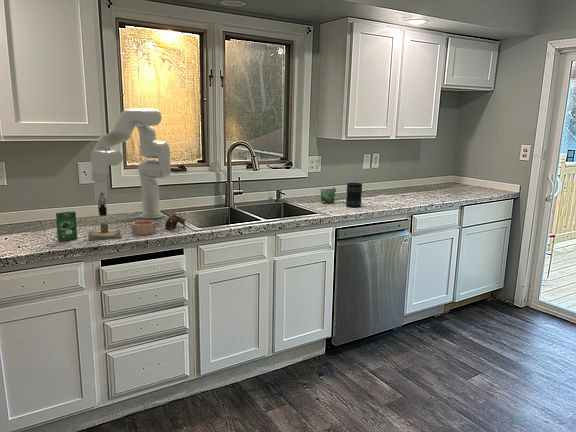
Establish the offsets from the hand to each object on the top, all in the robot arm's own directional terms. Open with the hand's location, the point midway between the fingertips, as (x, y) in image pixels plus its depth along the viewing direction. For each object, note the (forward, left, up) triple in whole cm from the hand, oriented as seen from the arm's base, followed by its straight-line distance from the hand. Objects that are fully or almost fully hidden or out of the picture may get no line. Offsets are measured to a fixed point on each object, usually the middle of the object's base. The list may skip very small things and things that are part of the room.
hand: (102, 213), depth 216 cm
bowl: (0, +18, -11) cm, 21 cm away
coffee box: (+2, -16, -11) cm, 19 cm away
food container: (-36, +142, -11) cm, 147 cm away
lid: (0, 0, -10) cm, 10 cm away
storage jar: (-22, +152, -11) cm, 154 cm away
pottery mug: (-3, +34, -11) cm, 36 cm away
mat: (0, 0, -11) cm, 11 cm away
